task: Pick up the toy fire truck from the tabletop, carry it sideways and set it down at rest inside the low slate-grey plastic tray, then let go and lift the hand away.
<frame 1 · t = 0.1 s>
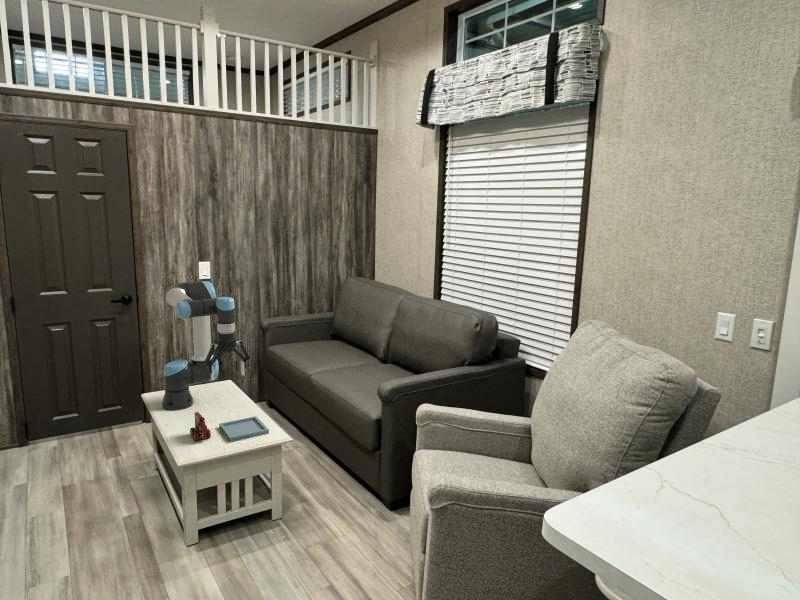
hand: (228, 377, 243), 28 cm above the table, tool pointing down, fingers open, 13 cm apart
toy fire truck: (200, 437, 245), on the table
tray: (243, 430, 253), on the table
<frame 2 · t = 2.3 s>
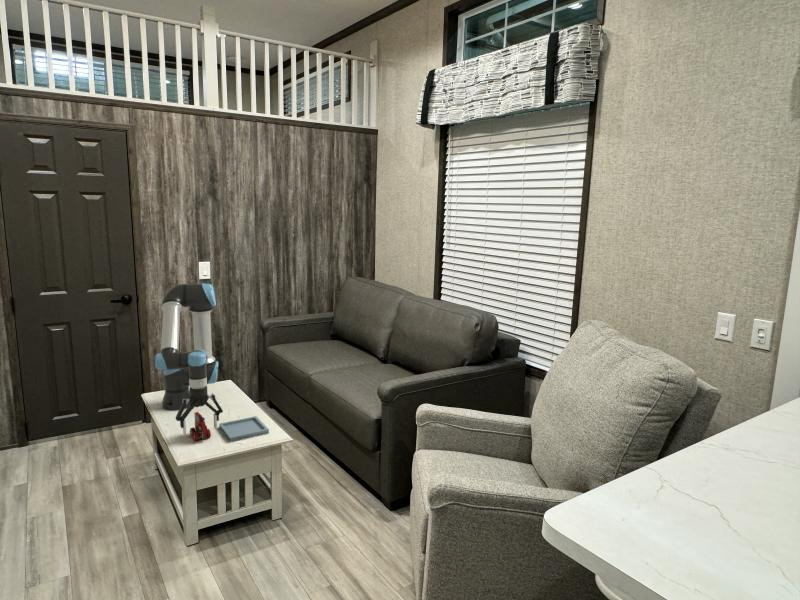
hand: (200, 430, 244), 3 cm above the table, tool pointing down, fingers open, 13 cm apart
nothing on the table moved.
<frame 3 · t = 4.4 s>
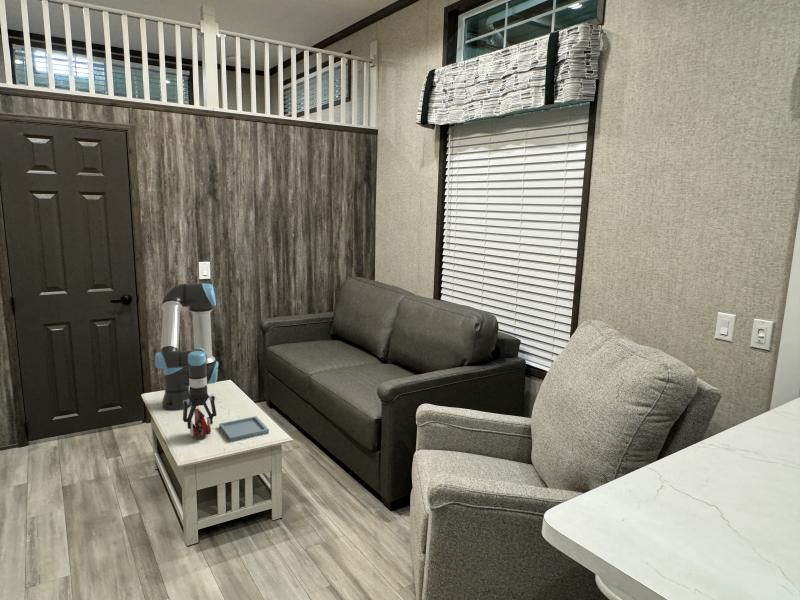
hand: (200, 432, 245), 2 cm above the table, tool pointing down, fingers closed on toy fire truck, 7 cm apart
toy fire truck: (200, 433, 246), point 1 cm above the table, touching gripper
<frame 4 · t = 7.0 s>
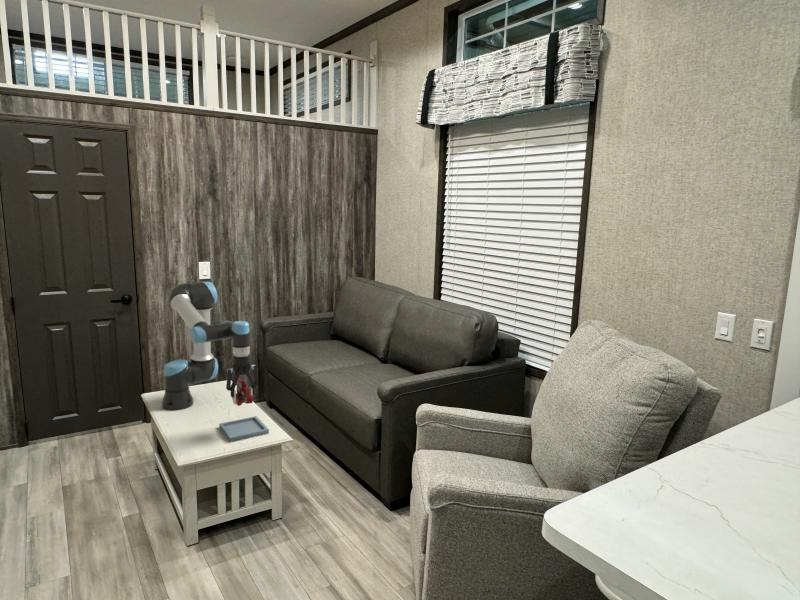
hand: (242, 401, 250), 14 cm above the table, tool pointing down, fingers closed on toy fire truck, 7 cm apart
toy fire truck: (242, 403, 251), point 14 cm above the table, touching gripper
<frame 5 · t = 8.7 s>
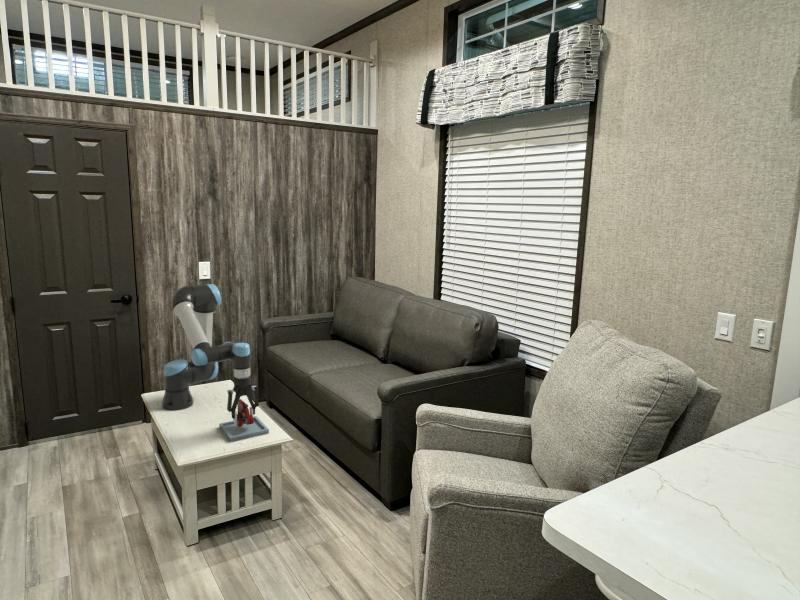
hand: (243, 422, 252), 4 cm above the table, tool pointing down, fingers closed on toy fire truck, 7 cm apart
toy fire truck: (243, 423, 252), point 3 cm above the table, touching gripper
when the fingers open (2 cm above the table, at t = 9.9 s): toy fire truck stays where it is, resting on tray.
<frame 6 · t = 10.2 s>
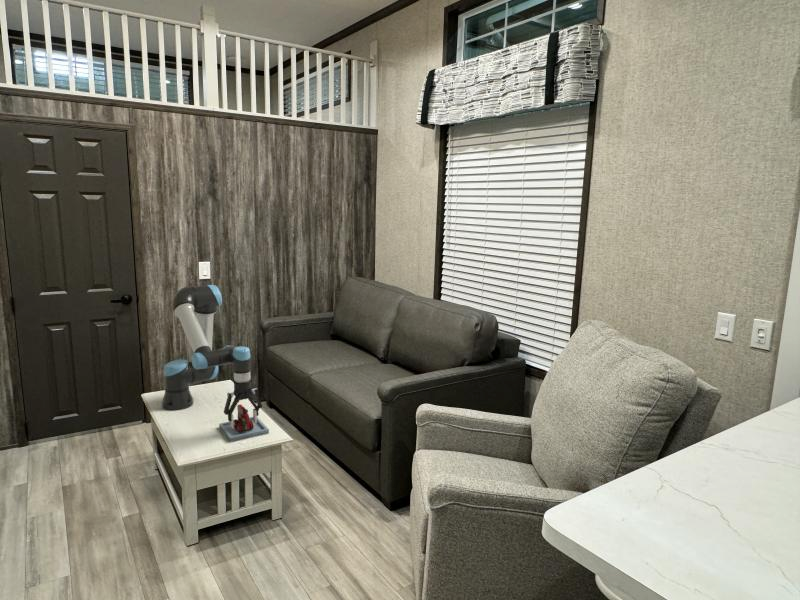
hand: (243, 424, 252), 3 cm above the table, tool pointing down, fingers open, 10 cm apart
toy fire truck: (243, 429, 253), point 1 cm above the table, touching tray
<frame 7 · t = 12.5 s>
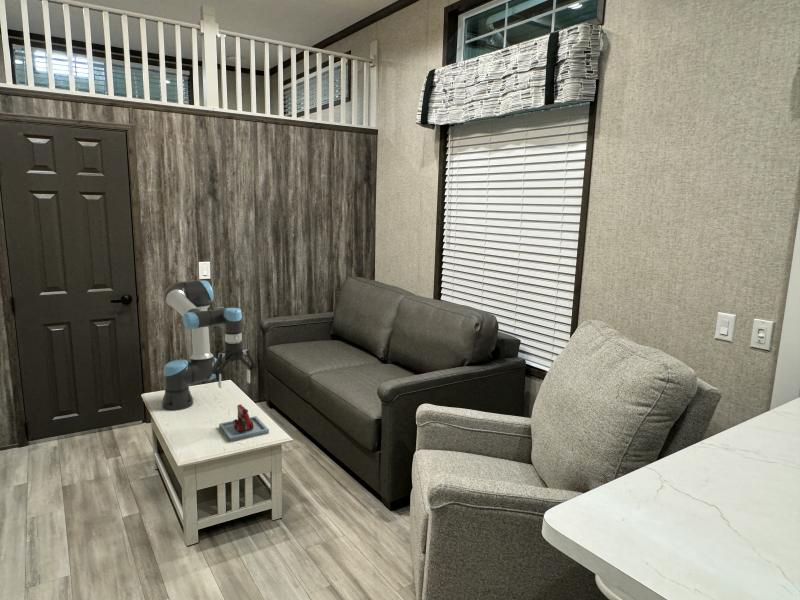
hand: (234, 384, 252), 22 cm above the table, tool pointing down, fingers open, 13 cm apart
nothing on the table moved.
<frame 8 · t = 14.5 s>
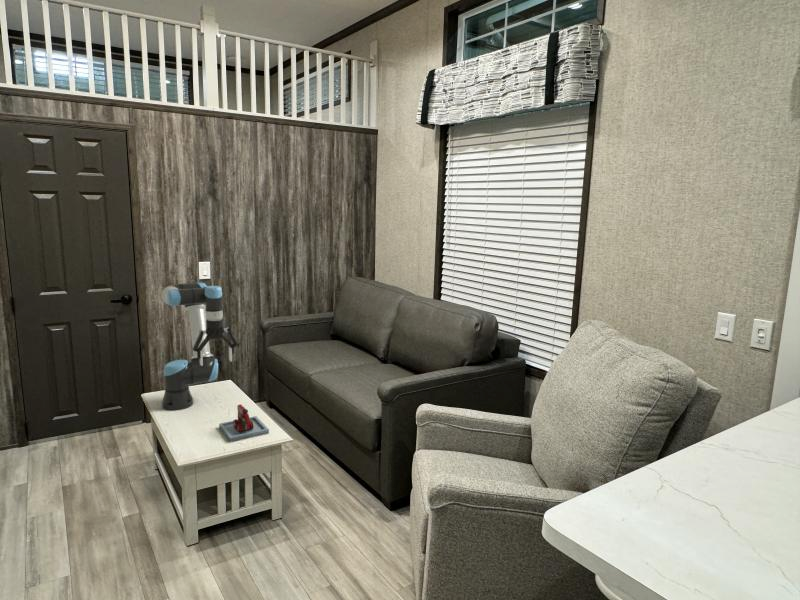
hand: (216, 362, 254), 31 cm above the table, tool pointing down, fingers open, 13 cm apart
nothing on the table moved.
at the end: toy fire truck inside the target area on the tray (0.3 cm from its centre), point 0.6 cm above the tray's base; toy fire truck tilted 0°; the gripper is holding nothing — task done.
